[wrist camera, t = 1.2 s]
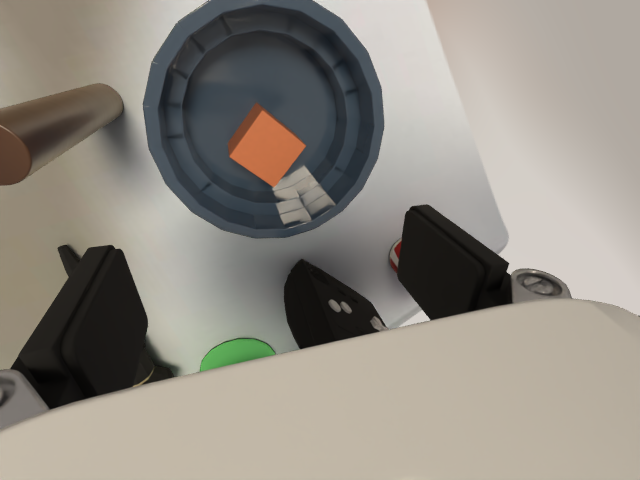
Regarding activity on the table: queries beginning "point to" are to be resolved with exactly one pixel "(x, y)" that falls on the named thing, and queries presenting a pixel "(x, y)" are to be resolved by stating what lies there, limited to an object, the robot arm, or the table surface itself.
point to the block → (265, 145)
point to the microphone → (145, 367)
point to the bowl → (274, 96)
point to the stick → (51, 127)
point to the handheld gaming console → (325, 308)
